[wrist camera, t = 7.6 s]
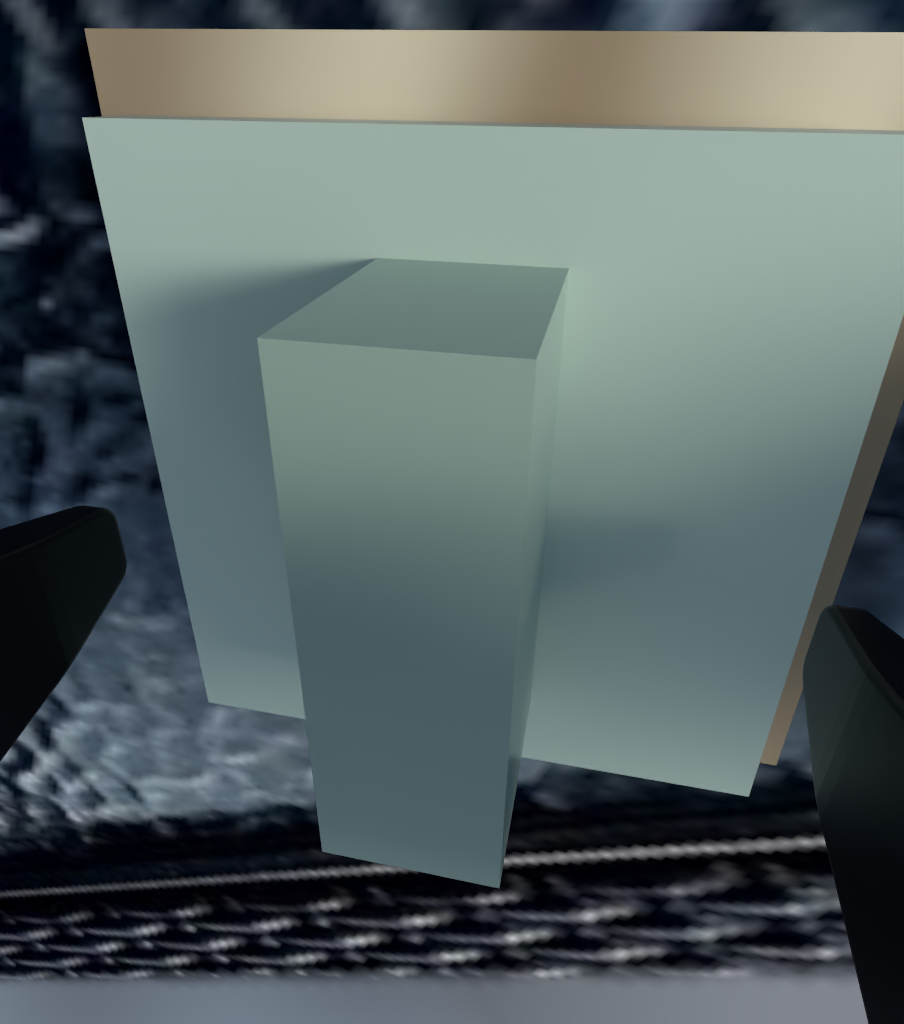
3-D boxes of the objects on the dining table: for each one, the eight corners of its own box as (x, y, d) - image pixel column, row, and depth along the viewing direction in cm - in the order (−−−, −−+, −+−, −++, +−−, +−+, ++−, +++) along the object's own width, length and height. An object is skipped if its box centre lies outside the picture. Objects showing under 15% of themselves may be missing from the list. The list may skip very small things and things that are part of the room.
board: (1001, 37, 9) (1031, 33, 8) (770, 734, 15) (776, 765, 14) (118, 31, 11) (84, 28, 10) (228, 645, 17) (211, 668, 16)
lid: (905, 127, 9) (1182, 167, 4) (736, 719, 14) (784, 1018, 9) (161, 113, 11) (-183, 131, 6) (249, 643, 16) (96, 863, 11)
